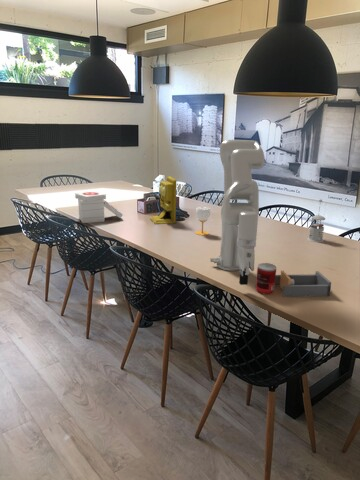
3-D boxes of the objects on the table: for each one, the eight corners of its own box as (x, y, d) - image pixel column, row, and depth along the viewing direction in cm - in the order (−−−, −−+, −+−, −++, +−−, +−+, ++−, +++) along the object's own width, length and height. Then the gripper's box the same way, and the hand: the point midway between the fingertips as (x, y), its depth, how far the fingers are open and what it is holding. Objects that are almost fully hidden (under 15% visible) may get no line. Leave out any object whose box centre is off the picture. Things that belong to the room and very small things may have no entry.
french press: (305, 240, 236) (310, 199, 229) (309, 236, 246) (314, 196, 239) (322, 243, 232) (328, 201, 225) (325, 238, 242) (331, 198, 235)
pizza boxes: (123, 220, 271) (123, 195, 266) (79, 223, 260) (78, 197, 255) (117, 214, 288) (116, 190, 283) (75, 217, 277) (74, 192, 272)
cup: (204, 236, 240) (205, 210, 235) (192, 233, 245) (193, 208, 240) (212, 233, 247) (213, 208, 242) (200, 230, 252) (201, 206, 247)
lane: (283, 296, 160) (285, 283, 158) (273, 284, 172) (275, 271, 170) (329, 295, 162) (331, 282, 160) (316, 283, 173) (318, 271, 172)
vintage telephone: (147, 215, 287) (147, 174, 278) (165, 214, 291) (165, 174, 282) (157, 226, 258) (157, 181, 249) (177, 225, 262) (178, 181, 253)
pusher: (286, 294, 162) (288, 278, 159) (279, 285, 170) (281, 270, 168) (296, 294, 162) (298, 278, 160) (288, 285, 171) (290, 270, 169)
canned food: (271, 286, 169) (273, 262, 166) (276, 294, 162) (278, 269, 158) (253, 286, 169) (255, 262, 166) (257, 294, 161) (260, 269, 158)
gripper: (260, 247, 151) (257, 291, 156) (250, 236, 165) (247, 277, 171) (241, 247, 150) (238, 291, 156) (233, 236, 165) (230, 277, 170)
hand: (243, 283), depth 163 cm, fingers closed
